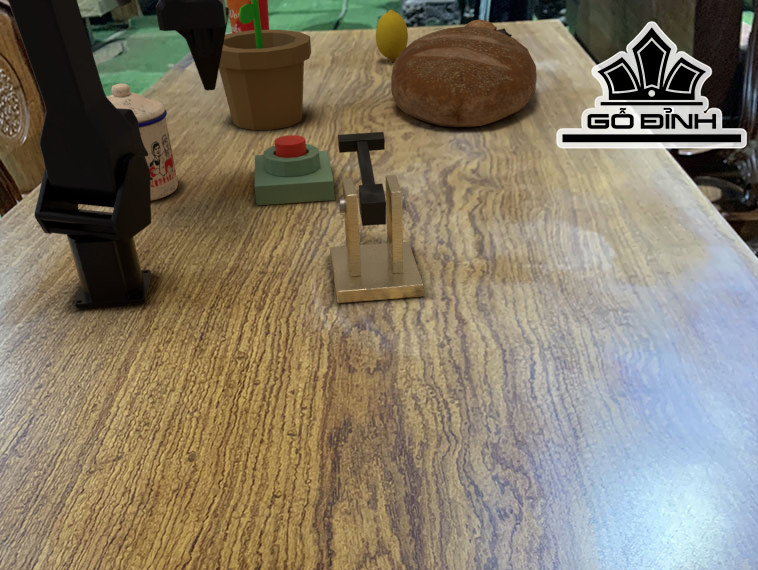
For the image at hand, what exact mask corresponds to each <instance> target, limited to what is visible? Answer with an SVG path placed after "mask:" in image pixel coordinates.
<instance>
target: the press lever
mask: <svg viewBox="0 0 758 570" xmlns="http://www.w3.org/2000/svg"><path fill="white" fill-rule="evenodd" d="M385 141H386V139H385V134H384V131H374V132H362V133H361V132H359V133H358V132H357V133H345V134H343V133H342V134H337V146H338V153H339V154H341V153H342V154H343V153H356V156H357V162H358V166H359V167H358V168H359V172H360V179H361V184H358V210H359V214H360V221H361V226H362V227H367V226H381V225H387V215H386V193H385V189H384V184H383V183H376V180H375V174H374V169H373V163H372V158H371V153H370V152H372V151H385V150H386V149H385V148H386V146H385V145H386V143H385Z"/></svg>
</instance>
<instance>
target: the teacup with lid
mask: <svg viewBox="0 0 758 570" xmlns="http://www.w3.org/2000/svg"><path fill="white" fill-rule="evenodd" d="M110 89H111V94H110V95H108V96H106V97H107V98H108V99H109V101H110V102H111V103H112V104H113V105H114V106H115V107H116V108H120V109H131V110H132V111H133V113H134V114H135V116H136V118H137V119H138V124H139V130H140V135H141V139H142V142H143V144H144V147H145V148H146V150H147V152H148V156H145V158H146V161H147V164H148V166H149V171H150V190H151V202H153V201H156V200H160V199H163V198H165V197H167V196H170V195H171V194H173V193H174V192H175V191H176V190H178V189H177V188H178V186H179V181H178V178H177V177H178V176H177V170H176V166H175V165H176V164H175V159H174V156H173V154H174V153H173V150H172V144H171V139H170V134H169V128H168V121H167V115H168V111H167V110H166V108H165V105H163V103H161V102H160V101H158V100H155V99H150V98H146V97H144V96H142V95H141V94H139V93H136V92H131V87H130V86H129V85H128V84H127V83H116V84H113V85H112V86H111V88H110Z"/></svg>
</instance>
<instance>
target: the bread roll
mask: <svg viewBox="0 0 758 570" xmlns="http://www.w3.org/2000/svg"><path fill="white" fill-rule="evenodd" d="M468 26H475V27H483V28H488V29H492V30H496V31H500V32H502V33H504V34H506V35H508V36H510V37H513V35H512V34H511V33H509V32H508V31H507V30H506V28H499V29H498V27H497V26H496V25H494V23H492V22H490V21H489V20H485V19H474V20H471V21H470V22H467V23H466V24H465V25H464V26H463V27H468Z"/></svg>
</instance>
